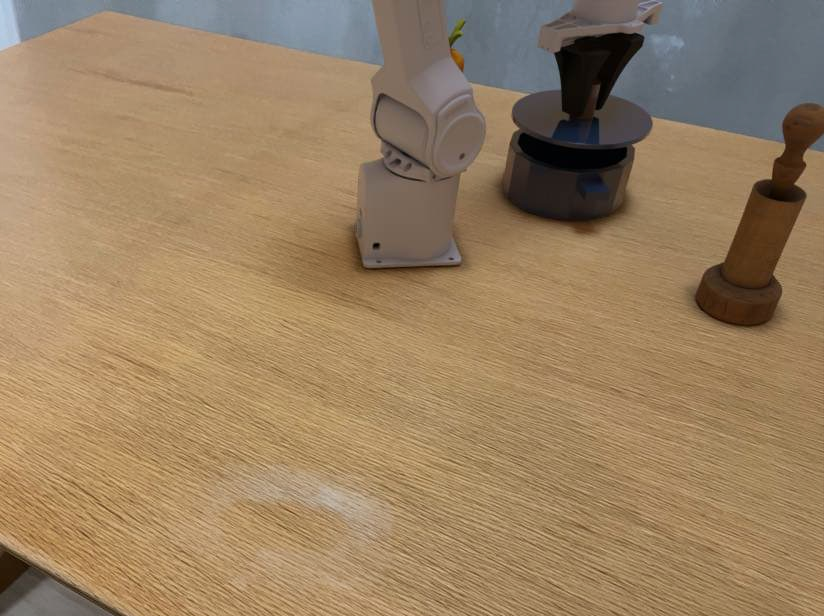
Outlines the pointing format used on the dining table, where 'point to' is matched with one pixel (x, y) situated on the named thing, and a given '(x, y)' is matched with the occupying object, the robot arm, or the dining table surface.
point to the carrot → (455, 35)
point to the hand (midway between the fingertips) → (581, 110)
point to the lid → (582, 121)
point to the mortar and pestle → (763, 231)
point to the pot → (565, 178)
